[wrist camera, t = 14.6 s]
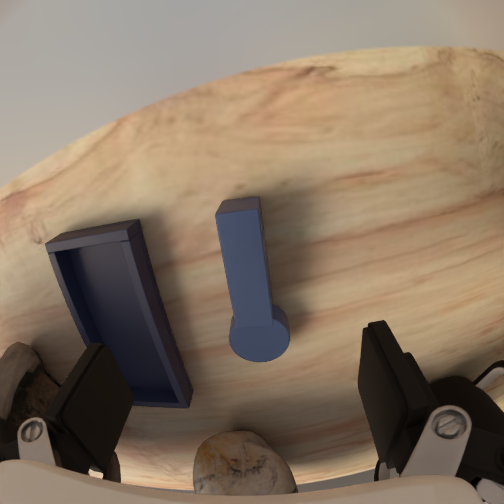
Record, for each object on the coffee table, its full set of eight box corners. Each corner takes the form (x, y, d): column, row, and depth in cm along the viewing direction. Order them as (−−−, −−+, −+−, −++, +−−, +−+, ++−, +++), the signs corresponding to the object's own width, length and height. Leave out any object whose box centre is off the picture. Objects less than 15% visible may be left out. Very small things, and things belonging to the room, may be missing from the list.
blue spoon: (207, 202, 18) (197, 216, 15) (274, 194, 18) (276, 206, 15) (236, 348, 22) (233, 376, 19) (289, 343, 22) (292, 371, 19)
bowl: (36, 441, 34) (5, 503, 20) (-53, 312, 24) (-113, 373, 10) (173, 470, 31) (153, 564, 17) (72, 306, 21) (-33, 442, 8)
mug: (352, 455, 29) (367, 539, 18) (377, 364, 23) (421, 487, 11) (465, 424, 28) (494, 491, 16) (512, 330, 21) (572, 406, 10)
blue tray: (60, 233, 19) (44, 243, 17) (139, 218, 18) (126, 228, 17) (125, 388, 25) (118, 404, 23) (193, 390, 24) (189, 408, 22)
